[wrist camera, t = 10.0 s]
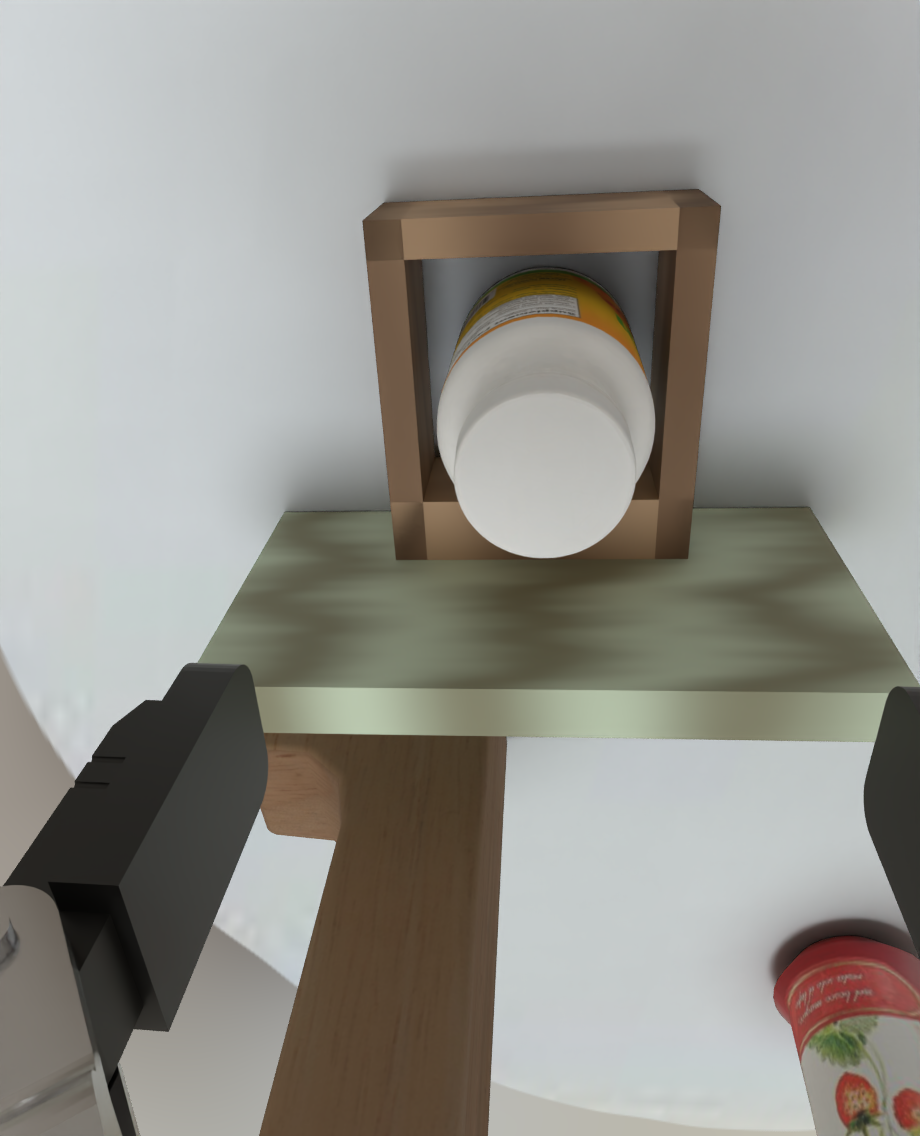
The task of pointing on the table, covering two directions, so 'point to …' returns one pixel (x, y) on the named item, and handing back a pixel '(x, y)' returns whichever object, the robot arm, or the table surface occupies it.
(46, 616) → the table surface
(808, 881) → the table surface
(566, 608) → the board
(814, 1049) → the liquor
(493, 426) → the supplement bottle
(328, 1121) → the wooden block
